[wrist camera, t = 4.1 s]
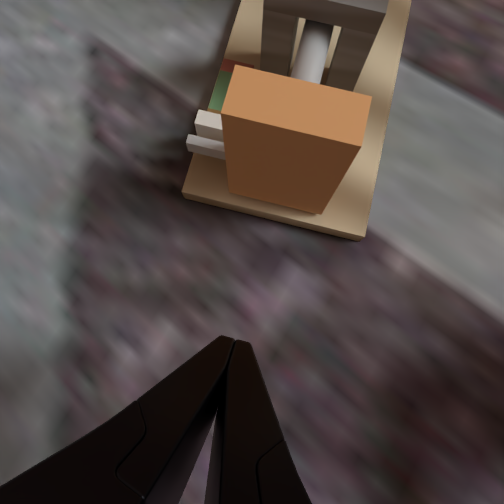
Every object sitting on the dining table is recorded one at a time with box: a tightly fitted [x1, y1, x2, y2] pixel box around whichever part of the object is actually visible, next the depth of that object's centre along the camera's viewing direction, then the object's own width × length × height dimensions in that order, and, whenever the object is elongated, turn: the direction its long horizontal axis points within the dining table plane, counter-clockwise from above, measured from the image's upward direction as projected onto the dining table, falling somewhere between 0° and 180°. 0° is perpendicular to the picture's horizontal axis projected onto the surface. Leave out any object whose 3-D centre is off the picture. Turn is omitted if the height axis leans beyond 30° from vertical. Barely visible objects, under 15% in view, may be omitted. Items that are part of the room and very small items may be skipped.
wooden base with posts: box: [182, 0, 411, 242], centre depth 20 cm, size 16×10×9 cm, turn 166°
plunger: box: [186, 19, 372, 215], centre depth 19 cm, size 9×8×8 cm
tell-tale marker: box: [194, 110, 224, 142], centre depth 21 cm, size 1×2×1 cm, turn 76°
